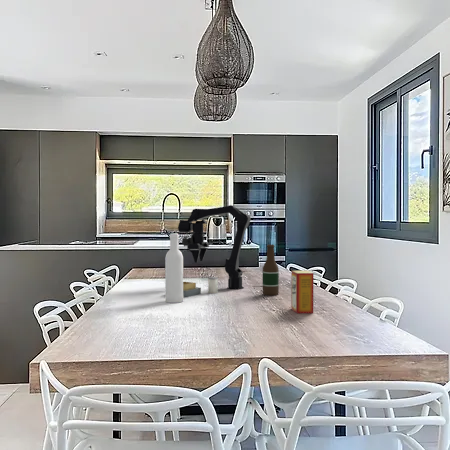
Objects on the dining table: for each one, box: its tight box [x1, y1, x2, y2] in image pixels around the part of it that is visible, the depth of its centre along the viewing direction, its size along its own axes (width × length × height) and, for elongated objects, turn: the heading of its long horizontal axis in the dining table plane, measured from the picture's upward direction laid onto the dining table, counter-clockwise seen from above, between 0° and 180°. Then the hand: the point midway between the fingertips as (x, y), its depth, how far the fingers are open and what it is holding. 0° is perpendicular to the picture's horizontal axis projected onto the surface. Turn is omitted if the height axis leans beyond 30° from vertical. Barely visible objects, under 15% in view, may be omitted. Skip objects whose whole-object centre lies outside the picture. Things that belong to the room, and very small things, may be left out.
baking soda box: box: [290, 269, 314, 314], centre depth 193 cm, size 10×6×16 cm
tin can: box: [207, 276, 219, 295], centre depth 238 cm, size 5×5×7 cm
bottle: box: [164, 232, 184, 304], centre depth 214 cm, size 8×8×30 cm
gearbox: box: [183, 281, 202, 298], centre depth 233 cm, size 14×12×6 cm
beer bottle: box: [262, 244, 280, 297], centre depth 233 cm, size 8×8×24 cm
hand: (198, 261), depth 257 cm, fingers open, 9 cm apart
